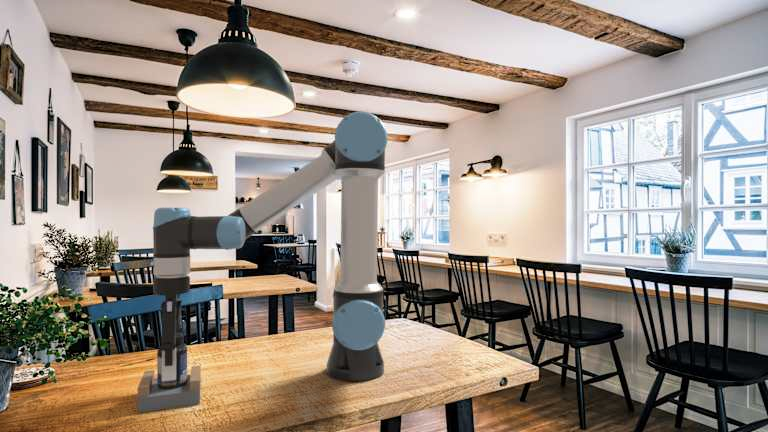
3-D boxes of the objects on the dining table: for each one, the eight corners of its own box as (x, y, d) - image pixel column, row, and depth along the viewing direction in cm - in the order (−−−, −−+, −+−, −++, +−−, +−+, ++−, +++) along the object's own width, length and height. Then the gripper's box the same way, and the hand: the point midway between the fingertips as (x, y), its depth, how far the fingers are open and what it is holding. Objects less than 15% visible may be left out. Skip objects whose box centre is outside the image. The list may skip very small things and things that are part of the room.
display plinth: (200, 385, 109) (200, 364, 109) (199, 404, 98) (199, 381, 98) (144, 392, 105) (145, 370, 105) (137, 412, 94) (137, 388, 94)
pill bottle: (179, 378, 106) (179, 330, 106) (192, 384, 102) (192, 335, 102) (152, 385, 101) (152, 336, 101) (164, 391, 97) (165, 340, 98)
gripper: (159, 270, 112) (158, 356, 112) (146, 283, 89) (145, 392, 89) (191, 269, 115) (191, 353, 115) (187, 281, 92) (187, 386, 91)
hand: (171, 370), depth 102 cm, fingers open, 13 cm apart
